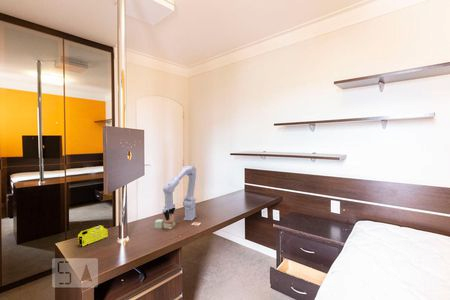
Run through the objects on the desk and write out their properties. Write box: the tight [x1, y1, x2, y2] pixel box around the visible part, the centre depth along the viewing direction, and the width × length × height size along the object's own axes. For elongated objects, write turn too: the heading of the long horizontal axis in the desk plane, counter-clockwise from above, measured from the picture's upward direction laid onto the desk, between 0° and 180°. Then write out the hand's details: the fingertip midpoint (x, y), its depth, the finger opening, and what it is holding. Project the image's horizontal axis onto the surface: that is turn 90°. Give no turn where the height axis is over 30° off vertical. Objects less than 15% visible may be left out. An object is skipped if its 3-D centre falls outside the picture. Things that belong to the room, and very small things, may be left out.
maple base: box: [163, 221, 176, 230], centre depth 165 cm, size 6×6×4 cm
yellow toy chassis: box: [77, 225, 109, 247], centre depth 143 cm, size 16×6×8 cm, turn 149°
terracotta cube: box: [164, 213, 175, 223], centre depth 165 cm, size 5×5×5 cm
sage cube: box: [154, 218, 165, 229], centre depth 165 cm, size 5×5×5 cm
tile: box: [191, 221, 201, 227], centre depth 170 cm, size 5×6×1 cm
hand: (169, 218), depth 165 cm, fingers closed on terracotta cube, 5 cm apart
